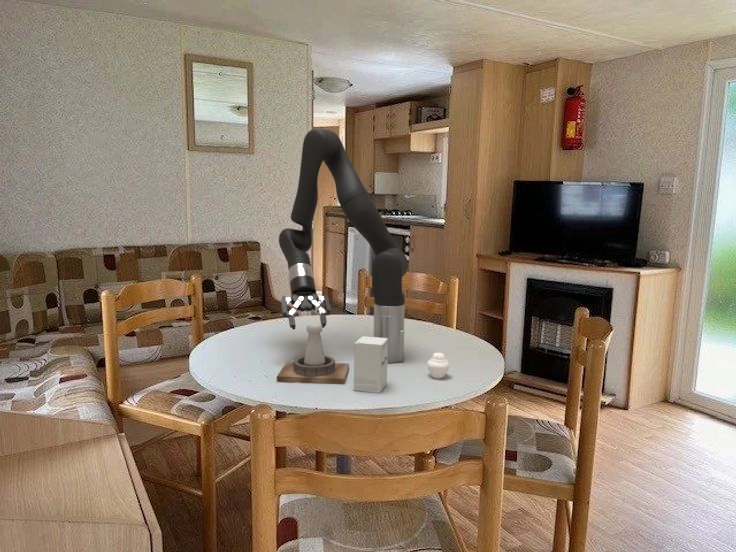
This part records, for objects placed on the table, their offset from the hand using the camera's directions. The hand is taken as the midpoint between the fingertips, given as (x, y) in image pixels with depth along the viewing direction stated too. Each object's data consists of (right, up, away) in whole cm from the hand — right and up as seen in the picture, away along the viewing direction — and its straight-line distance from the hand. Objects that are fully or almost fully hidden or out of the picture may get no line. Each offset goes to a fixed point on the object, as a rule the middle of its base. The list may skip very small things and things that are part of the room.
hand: (308, 327), depth 153 cm
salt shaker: (+2, -11, -6) cm, 13 cm away
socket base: (+2, -13, -6) cm, 14 cm away
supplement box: (+18, -14, -15) cm, 27 cm away
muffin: (+36, -13, -6) cm, 39 cm away
